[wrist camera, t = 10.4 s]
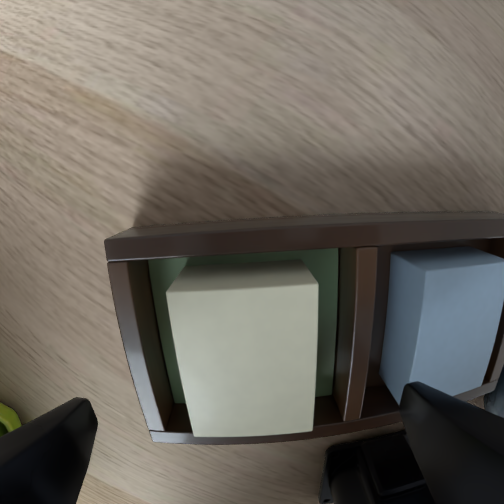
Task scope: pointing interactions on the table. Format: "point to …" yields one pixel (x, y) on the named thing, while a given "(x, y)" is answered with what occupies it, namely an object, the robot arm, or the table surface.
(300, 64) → the table surface
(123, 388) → the table surface
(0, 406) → the flower pot
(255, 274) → the cream rectangular block
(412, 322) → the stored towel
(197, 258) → the shallow rectangular tray
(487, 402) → the electronic device
